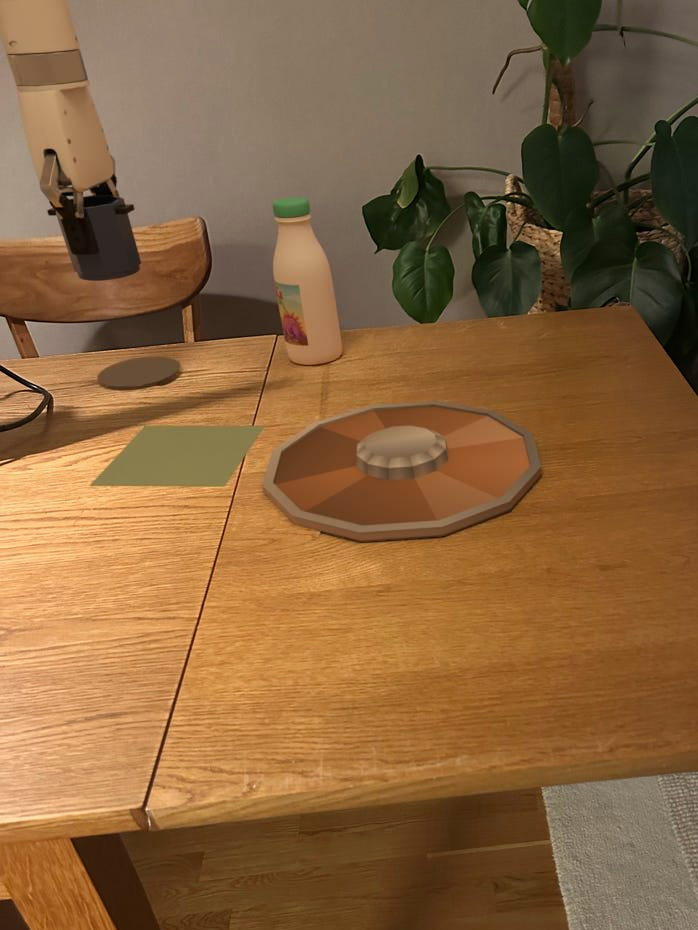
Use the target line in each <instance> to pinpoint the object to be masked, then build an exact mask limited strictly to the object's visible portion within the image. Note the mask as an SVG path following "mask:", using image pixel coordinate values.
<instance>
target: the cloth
mask: <svg viewBox="0 0 698 930" xmlns="http://www.w3.org/2000/svg"><path fill="white" fill-rule="evenodd" d="M264 428H265V425H144V426H143V427H142V428H141V429H140V431H139V432H138V433H136V434H135V436H134V437H133V438H132V439H131V440H130V441H129V442H128V443H127V445H126V446H125V447H124V448H123V449H122V450H121V451H120V452H119V453H118V454H117V455H116V457H114V459H113V460H112V461H111V462H110V463H109V464H108V465H107V466H106V467H105V468H104V469H103V470H102V472H100V473H99V475H98V476H97V477H96V478H95V479H93V481H92V482H91V484H89V487H221V488H222V487H223V488H224V487H225V486H226V485H227V483H228V482H229V481H230V480H231V477H233V474H234V473H235V472H236V471H237V469H238V467H239V465H241V462H242V461H243V460H244V458H245V456H246V455H247V454H248V452H249V450H250V449H251V448H252V446H253V445H254V443H255V442H256V440H257V438H258V437H259V435H260V434H261V433H262V431H263V430H264Z"/></svg>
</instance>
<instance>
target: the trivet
mask: <svg viewBox="0 0 698 930" xmlns="http://www.w3.org/2000/svg"><path fill="white" fill-rule="evenodd" d="M181 375H182V365H181V363H180V362H179V361H178V360H177V359H175V358H172V357H166V356H143V357H134V358H130V359H125V360H123V361H119V362H116V363H113V364H111V365H109V366H107V367H104V369H102V370H101V371H100V372H99V373H97V376H96V380H97V383H98V385H99V387H101V388H103V389H106V390H111V391H118V392H119V391H120V392H121V391H122V392H123V391H124V392H125V391H126V392H127V391H129V392H130V391H138V390H144V389H149V388H153V387H162V386H164V385H167V384H169V383H171V382H173V381H175V380H176V379H178V378H179V377H180V376H181Z"/></svg>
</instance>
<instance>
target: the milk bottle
mask: <svg viewBox="0 0 698 930" xmlns="http://www.w3.org/2000/svg"><path fill="white" fill-rule="evenodd" d="M310 206H311V205H310V201H309V199H307V198H306V197H301V196H289V197H283V198H278V199H276V200H274V201H273V202H272V211H273V215H274V221H275V222H276V223H277V239H276V246H275V250H274V254H273V261H272V270H273V271H272V275H273V281H274V287H275V295H276V300H277V305H278V311H279V316H280V322H281V326H282V327H281V328H282V332H283V338H284V343H285V348H286V352H287V353H286V354H287V357H288V358H289V360H290V361H291V362H292V363H295V364H298V365H303V366H304V365H306V366H312V365H314V366H315V365H322V364H326V363H330V362H333V361H336V360H338V359H339V358H340V357H341V356H340V355H342V353H343V343H342V335H341V329H340V321H339V315H338V309H337V302H336V295H335V288H334V283H333V277H332V272H331V267H330V263H329V260H328V258H327V255H326V253H325V251H324V249H323V248H322V246H321V243H320V242H319V240H318V238H317V237H316V235H315V232H314V230H313V228H312V225H311V218H312V216H311V215H312V214H311V207H310Z"/></svg>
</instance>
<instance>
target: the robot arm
mask: <svg viewBox="0 0 698 930" xmlns="http://www.w3.org/2000/svg"><path fill="white" fill-rule="evenodd" d="M0 39H1V42H2V45H3V48H4V51H5V54H6V58H7V61H8V64H9V68H10V70H11V73H12V76H13V80H14V84H15V87H16V90H17V100H18V107H19V111H20V117H21V120H22V126H23V131H24V134H25V138H26V142H27V146H28V150H29V154H30V157H31V161H32V164H33V167H34V171H35V174H36V177H37V180H38V183H39V189H40V192H42V193H43V195H44V196H45V197H46V199H47V200H48V202H49V205H50V206H51V207H52V208H54V209H55V210H56V218H57V217H58V218H59V219H61V222H62V225H63V228H64V231H65V234H66V237H67V240H68V243H69V247H70V250H71V252H72V254H74V255H95V254H97V253H98V252H99V250H98V246H97V243H96V240H95V237H94V233H93V230H92V227H91V223H90V220H89V217H84V203H83V197H84V192H86V191H89V192H90V193H91V195H116V196H118V197H120V192H119V191H118V189H117V183H118V180H117V179H118V178H117V176H116V160H115V158H114V157H113V155H111V152H110V148H109V145H108V142H107V138H106V134H105V132H104V128H103V125H102V122H101V119H100V116H99V113H98V110H97V108H96V105H95V102H94V100H93V97H92V95H91V92H90V89H89V86H90V85H91V84H90V80H89V77H88V73H87V69H86V66H85V63H84V59H83V55H82V51H81V49H80V45H79V41H78V36H77V34H76V30H75V26H74V22H73V19H72V16H71V11H70V7H69V5H68V1H67V0H0ZM69 197H72V198H73V202H74V204H73V203H72V202H71V201H70V200H69V199H70V198H69Z"/></svg>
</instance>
